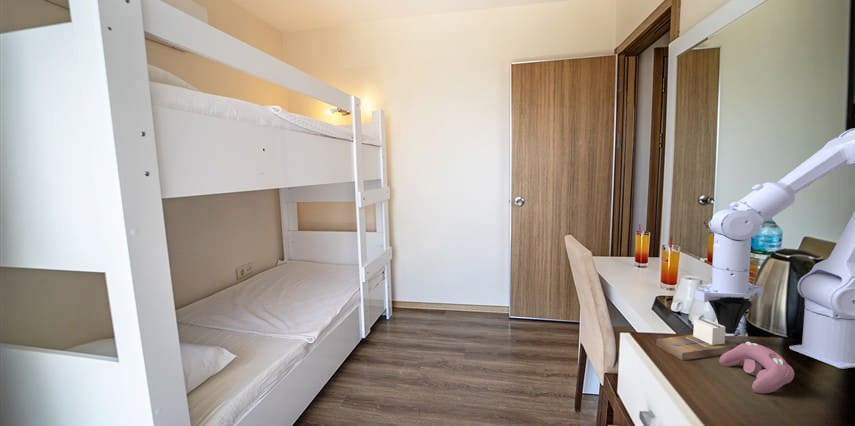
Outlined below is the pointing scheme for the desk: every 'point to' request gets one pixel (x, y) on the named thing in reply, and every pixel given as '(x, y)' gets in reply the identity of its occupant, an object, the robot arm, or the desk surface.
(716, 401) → the desk surface
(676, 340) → the fader board
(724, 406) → the desk surface
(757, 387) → the video game controller
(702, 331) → the fader tab
